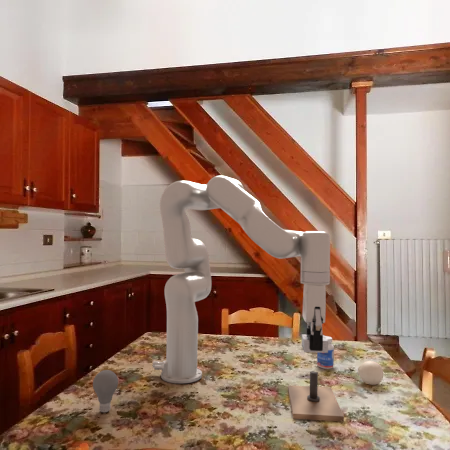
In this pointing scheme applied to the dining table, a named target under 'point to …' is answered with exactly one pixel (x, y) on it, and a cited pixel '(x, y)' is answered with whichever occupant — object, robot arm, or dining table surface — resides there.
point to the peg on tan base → (314, 402)
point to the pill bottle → (326, 356)
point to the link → (307, 343)
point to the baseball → (370, 372)
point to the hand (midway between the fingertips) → (314, 346)
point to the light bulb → (105, 388)
